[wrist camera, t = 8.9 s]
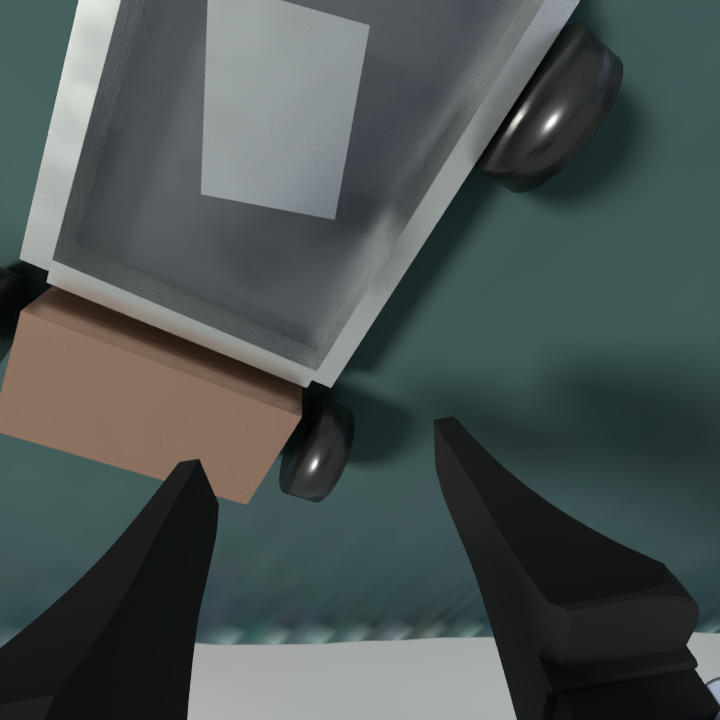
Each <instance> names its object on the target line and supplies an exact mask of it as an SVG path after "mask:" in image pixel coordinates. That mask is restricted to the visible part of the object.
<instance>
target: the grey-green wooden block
mask: <svg viewBox="0 0 720 720" xmlns="http://www.w3.org/2000/svg"><path fill="white" fill-rule="evenodd" d="M369 28H370V25H367V24H363V23H360V22H356V21H352V20H349V19H345V18H342V17H338V16H335V15H331V14H328V13H324V12H321V11H317V10H314V9H310V8H306V7H303V6H299V5H296V4H292V3H289V2H285V1H282V0H208V6H207V35H206V64H205V92H204V121H203V150H202V179H201V194H202V195H208V196H213V197H218V198H223V199H229V200H234V201H239V202H244V203H249V204H255V205H260V206H265V207H270V208H276V209H281V210H286V211H291V212H296V213H302V214H307V215H312V216H317V217H323V218H328V219H333V220H335V215H336V210H337V204H338V199H339V193H340V188H341V182H342V177H343V171H344V166H345V160H346V155H347V149H348V143H349V138H350V132H351V127H352V121H353V116H354V110H355V105H356V99H357V94H358V88H359V83H360V77H361V72H362V66H363V61H364V55H365V50H366V44H367V39H368V33H369Z"/></svg>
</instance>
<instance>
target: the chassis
mask: <svg viewBox="0 0 720 720" xmlns="http://www.w3.org/2000/svg"><path fill="white" fill-rule="evenodd" d="M282 1H285V2H289V3H292V4H296V5H299V6H303V7H306V8H310V9H314V10H317V11H321V12H324V13H328V14H331V15H335V16H338V17H342V18H345V19H349V20H352V21H356V22H360V23H363V24H367V25H370V28H369V33H368V39H367V44H366V50H365V55H364V61H363V66H362V72H361V77H360V83H359V88H358V94H357V99H356V105H355V110H354V116H353V121H352V127H351V132H350V138H349V143H348V149H347V155H346V160H345V166H344V171H343V177H342V182H341V188H340V193H339V199H338V204H337V210H336V215H335V220H333V219H328V218H323V217H317V216H312V215H307V214H302V213H296V212H291V211H286V210H281V209H276V208H270V207H265V206H260V205H255V204H249V203H244V202H239V201H234V200H229V199H223V198H218V197H213V196H208V195H202V194H201V179H202V150H203V121H204V92H205V64H206V35H207V6H208V0H79V2H78V6H77V11H76V15H75V19H74V24H73V28H72V32H71V37H70V41H69V45H68V50H67V54H66V59H65V63H64V67H63V72H62V76H61V80H60V85H59V89H58V93H57V98H56V102H55V106H54V111H53V115H52V119H51V124H50V128H49V132H48V137H47V141H46V145H45V150H44V154H43V159H42V163H41V167H40V172H39V176H38V180H37V185H36V189H35V193H34V198H33V202H32V206H31V211H30V215H29V219H28V224H27V228H26V232H25V237H24V241H23V246H22V250H21V254H20V259H21V260H23V261H26V262H28V263H30V264H33V265H35V266H38V267H40V268H42V269H45V270H47V271H49V274H48V278H47V281H46V283H49V284H51V285H53V286H52V287H51V288H50V289H48V290H47V291H46V292H44V293H43V294H42V295H41V296H39V297H38V298H37V299H35V300H34V301H33V302H32V303H30V304H29V301H30V284H29V281H28V279H27V278H26V277H24V276H22V275H19V274H17V273H14V272H12V271H9V270H7V269H4V268H2V267H0V363H1V361H2V360H3V358H4V357H5V356H6V354H7V353H8V351H9V349H10V348H11V346H12V349H11V353H10V357H9V362H8V366H7V370H6V374H5V378H4V382H3V386H2V390H1V394H0V433H3V434H6V435H10V436H13V437H16V438H20V439H23V440H27V441H30V442H34V443H37V444H40V445H44V446H47V447H51V448H54V449H58V450H61V451H64V452H68V453H71V454H75V455H78V456H82V457H85V458H88V459H92V460H95V461H99V462H102V463H106V464H109V465H112V466H116V467H119V468H123V469H126V470H130V471H133V472H136V473H140V474H143V475H147V476H150V477H154V478H157V479H160V480H164V481H165V480H166V478H167V477H168V476H169V474H170V473H171V472H172V471H173V469H174V468H175V467H176V465H177V464H178V463H179V462H182V461H188V460H194V459H200V462H201V464H202V466H203V469H204V471H205V473H206V476H207V478H208V480H209V483H210V485H211V487H212V490H213V492H214V494H215V496H219V497H222V498H225V499H229V500H232V501H236V502H239V503H243V504H246V505H247V504H248V502H249V500H250V499H251V497H252V496H253V494H254V492H255V491H256V489H257V488H258V486H259V484H260V483H261V481H262V480H263V478H264V477H265V475H266V473H267V472H268V470H269V469H270V467H271V465H272V464H273V462H274V461H275V459H276V457H277V456H278V454H279V453H280V451H281V450H282V448H283V446H284V445H285V443H286V442H287V444H286V447H285V451H284V454H283V458H282V462H281V468H280V476H279V483H280V488H281V491H282V492H283V493H286V494H289V495H292V496H295V497H299V498H302V499H305V500H308V501H312V502H316V503H317V502H320V501H322V500H323V499H325V498H326V497H327V496H328V495H329V494H330V492H331V491H332V490H333V488H334V487H335V485H336V484H337V482H338V480H339V478H340V476H341V474H342V472H343V470H344V468H345V465H346V462H347V460H348V457H349V454H350V450H351V446H352V441H353V436H354V416H353V412H352V410H351V409H350V408H349V407H347V406H344V405H342V404H339V403H337V402H334V401H332V400H329V399H327V398H324V397H322V396H315V397H314V398H312V399H311V400H310V401H309V402H308V403H307V405H306V406H305V407H304V409H303V410H302V386H303V387H306V388H307V387H308V385H309V384H310V382H311V380H313V381H316V382H318V383H320V384H323V385H325V386H328V387H330V388H331V387H332V386H333V384H334V383H335V381H336V379H337V378H338V376H339V375H340V373H341V372H342V370H343V369H344V367H345V365H346V364H347V362H348V361H349V359H350V358H351V356H352V355H353V353H354V351H355V350H356V348H357V347H358V345H359V344H360V342H361V341H362V339H363V337H364V336H365V334H366V333H367V331H368V330H369V328H370V327H371V325H372V323H373V322H374V320H375V319H376V317H377V316H378V314H379V313H380V311H381V309H382V308H383V306H384V305H385V303H386V302H387V300H388V299H389V297H390V295H391V294H392V292H393V291H394V289H395V288H396V286H397V285H398V283H399V281H400V280H401V278H402V277H403V275H404V274H405V272H406V271H407V269H408V267H409V266H410V264H411V263H412V261H413V260H414V258H415V257H416V255H417V253H418V252H419V250H420V249H421V247H422V246H423V244H424V243H425V241H426V239H427V238H428V236H429V235H430V233H431V232H432V230H433V229H434V227H435V225H436V224H437V222H438V221H439V219H440V218H441V216H442V215H443V213H444V211H445V210H446V208H447V207H448V205H449V204H450V202H451V201H452V199H453V197H454V196H455V194H456V193H457V191H458V190H459V188H460V187H461V185H462V184H463V182H464V180H465V179H466V177H467V176H468V174H469V173H470V171H471V170H472V168H473V166H474V165H475V166H476V167H477V168H478V169H479V170H481V171H482V172H484V173H485V174H487V175H488V176H490V177H491V178H492V179H494V180H495V181H497V182H498V183H500V184H501V185H503V186H504V187H506V188H507V189H508V190H510V191H511V192H515V193H522V192H526V191H529V190H532V189H534V188H536V187H538V186H540V185H541V184H543V183H545V182H546V181H548V180H549V179H550V178H552V177H553V176H554V175H556V174H557V173H558V172H559V171H561V170H562V169H563V168H564V167H565V166H566V165H567V164H568V163H569V162H570V161H571V160H572V159H573V158H574V157H575V156H576V155H577V154H578V153H579V152H580V151H581V150H582V148H583V147H584V146H585V145H586V144H587V143H588V141H589V140H590V139H591V137H592V136H593V135H594V134H595V132H596V131H597V129H598V128H599V126H600V125H601V124H602V122H603V120H604V119H605V117H606V115H607V114H608V112H609V110H610V108H611V107H612V105H613V103H614V101H615V98H616V96H617V94H618V91H619V88H620V85H621V81H622V77H623V65H622V61H621V60H620V58H619V57H618V56H617V55H616V54H615V53H613V52H612V51H611V50H610V49H609V48H608V47H607V46H606V45H605V44H604V43H603V42H602V41H601V40H599V39H598V38H597V37H596V36H595V35H594V34H593V33H592V32H591V31H590V30H589V29H588V28H587V27H585V26H584V25H583V24H581V23H574V24H571V25H568V26H566V27H564V28H563V26H564V25H565V23H566V22H567V20H568V19H569V17H570V16H571V14H572V12H573V11H574V9H575V8H576V6H577V5H578V3H579V2H580V0H282ZM12 344H13V345H12ZM288 438H289V439H288ZM287 440H288V441H287Z"/></svg>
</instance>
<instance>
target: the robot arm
mask: <svg viewBox="0 0 720 720" xmlns="http://www.w3.org/2000/svg"><path fill="white" fill-rule="evenodd" d="M434 442H435V464H436V471H437V475H438V478H439V482H440V485H441V489H442V492H443V496H444V499H445V501H446V504H447V506H448V509H449V511H450V514H451V516H452V519H453V521H454V524H455V526H456V528H457V531H458V533H459V536H460V538H461V540H462V543H463V545H464V548H465V550H466V553H467V555H468V557H469V560H470V562H471V565H472V568H473V570H474V573H475V576H476V579H477V582H478V585H479V588H480V592H481V595H482V598H483V601H484V605H485V608H486V611H487V615H488V618H489V621H490V625H491V628H492V632H493V635H494V638H495V642H496V645H497V649H498V652H499V656H500V659H501V663H502V667H503V670H504V674H505V677H506V681H507V684H508V688H509V691H510V695H511V699H512V703H513V707H514V710H515V714H516V718H517V720H720V677H718V678H715V679H713V680H711V681H709V682H707V683H706V684H704V682H703V681H702V679H701V678H700V676H699V675H698V673H697V672H696V670H695V669H694V668H697V666H698V664H697V661H696V659H695V658H694V656H693V655H692V654H691V652H690V650H689V649H688V648H687V646H686V644H687V643H688V641H689V639H690V637H691V635H692V633H693V631H694V629H695V627H696V625H697V622H698V618H699V614H700V612H699V608H698V605H697V603H696V602H695V601H694V600H693V598H692V597H691V596H690V594H689V593H688V592H687V590H686V589H685V588H684V586H683V585H682V584H681V583H680V582H679V580H678V579H677V578H676V577H675V576H674V575H673V574H672V573H671V572H670V571H669V570H668V568H667V567H666V566H665V565H664V564H663V563H661V562H659V561H656V560H654V559H652V558H650V557H648V556H645V555H643V554H641V553H639V552H637V551H634V550H632V549H630V548H628V547H625V546H623V545H621V544H619V543H617V542H615V541H613V540H611V539H610V538H608V537H606V536H604V535H602V534H600V533H598V532H596V531H594V530H593V529H591V528H589V527H587V526H586V525H584V524H582V523H581V522H579V521H577V520H576V519H574V518H572V517H571V516H569V515H567V514H566V513H564V512H562V511H561V510H559V509H558V508H556V507H555V506H553V505H552V504H550V503H549V502H548V501H546V500H545V499H543V498H542V497H541V496H539V495H538V494H536V493H535V492H534V491H532V490H531V489H530V488H528V487H527V486H526V485H525V484H523V483H522V482H521V481H520V480H518V479H517V478H516V477H515V476H514V475H512V474H511V473H510V472H509V471H508V470H507V469H505V468H504V467H503V466H502V465H501V464H500V463H499V462H498V461H497V460H496V459H495V458H493V457H492V456H491V455H490V454H489V453H488V452H487V451H486V450H485V449H484V448H483V447H482V446H481V445H480V444H479V443H478V442H477V441H476V440H475V439H474V438H473V437H472V436H471V435H470V434H469V433H468V432H467V430H466V429H465V428H464V427H463V426H462V425H461V424H460V423H459V421H458V420H457V419H456V418H454V417H449V418H443V419H437V420H434ZM218 509H219V504H218V501H217V499H216V497H215V494H214V492H213V490H212V487H211V485H210V483H209V480H208V478H207V476H206V473H205V471H204V469H203V466H202V464H201V462H200V459H194V460H188V461H182V462H179V463H178V464H177V465H176V467H175V468H174V469H173V471H172V472H171V473H170V474H169V476H168V477H167V478H166V480H165V481H164V482H163V484H162V485H161V486H160V488H159V489H158V490H157V492H156V493H155V494H154V495H153V497H152V498H151V499H150V501H149V502H148V503H147V504H146V506H145V507H144V508H143V510H142V511H141V512H140V513H139V515H138V516H137V517H136V518H135V520H134V521H133V522H132V523H131V524H130V526H129V527H128V528H127V529H126V530H125V531H124V533H123V534H122V535H121V536H120V537H119V538H118V540H117V541H116V542H115V543H114V544H113V545H112V547H111V548H110V549H109V550H108V551H107V552H106V553H105V554H104V555H103V556H102V558H101V559H100V560H99V561H98V562H97V563H96V564H95V565H94V566H93V567H92V568H91V569H90V570H89V571H88V572H87V573H86V574H85V575H84V576H83V577H82V578H81V579H80V580H79V581H78V582H77V583H76V584H75V585H74V586H73V587H71V588H70V589H69V590H68V591H67V592H66V593H65V594H64V595H63V596H62V597H60V598H59V599H58V600H57V601H56V602H55V603H54V604H53V605H52V606H50V607H49V608H48V609H47V610H46V611H45V612H44V613H43V614H42V615H40V616H39V617H38V618H37V619H36V620H34V621H33V622H32V623H31V624H30V625H28V626H27V627H26V628H25V629H24V630H22V631H21V632H20V633H19V634H17V635H16V636H15V637H14V638H12V639H11V640H10V641H9V642H7V643H6V644H5V645H3V646H2V647H1V648H0V720H187V714H188V701H189V691H190V680H191V671H192V661H193V653H194V645H195V637H196V629H197V623H198V617H199V612H200V607H201V603H202V598H203V594H204V589H205V585H206V580H207V576H208V571H209V567H210V563H211V558H212V553H213V549H214V544H215V539H216V532H217V522H218Z"/></svg>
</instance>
